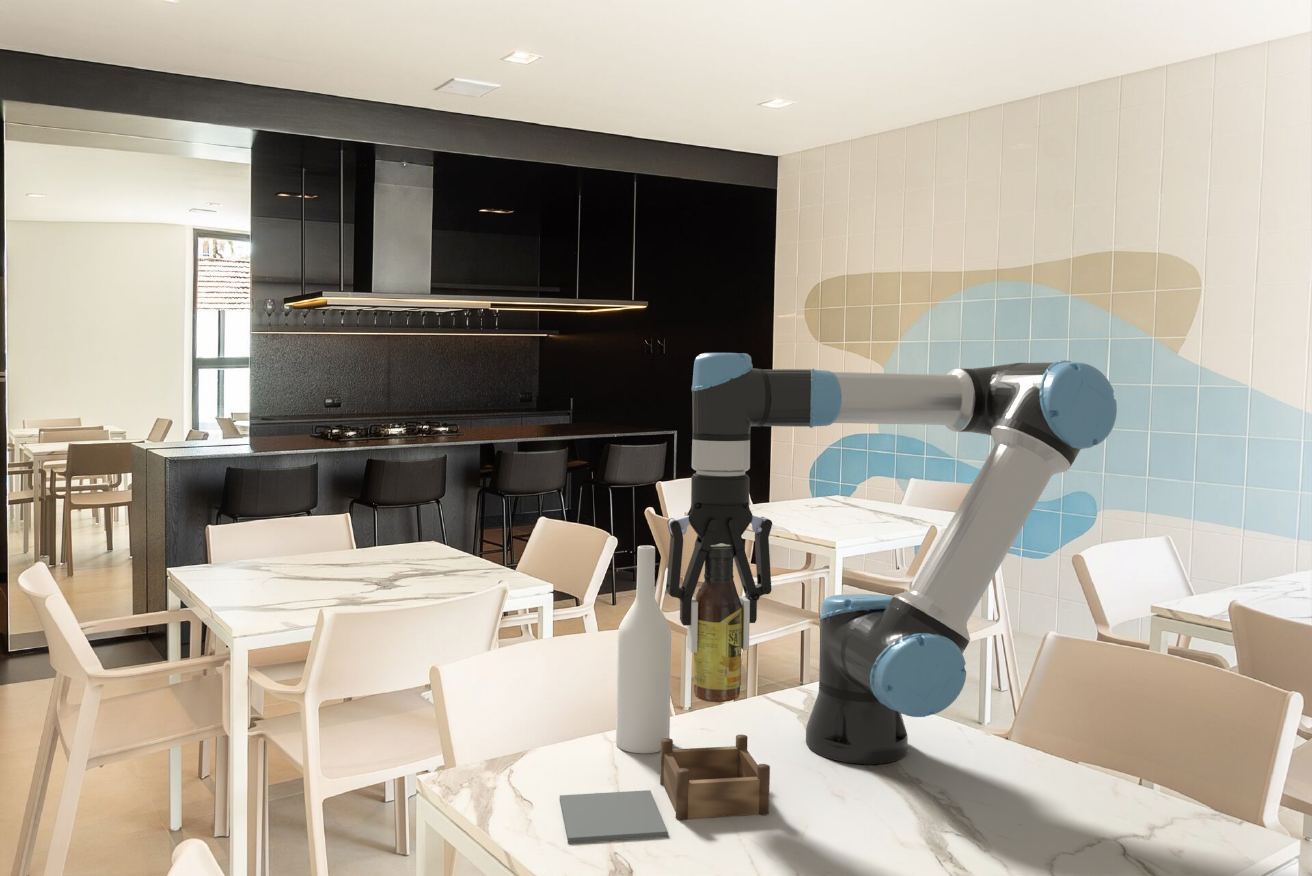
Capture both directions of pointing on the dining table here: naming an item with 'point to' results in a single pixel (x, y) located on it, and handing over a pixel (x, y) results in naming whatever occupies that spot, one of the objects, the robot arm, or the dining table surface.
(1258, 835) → the dining table surface
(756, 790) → the corner post wooden tray
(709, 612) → the sauce bottle
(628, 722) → the bottle
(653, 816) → the mat
